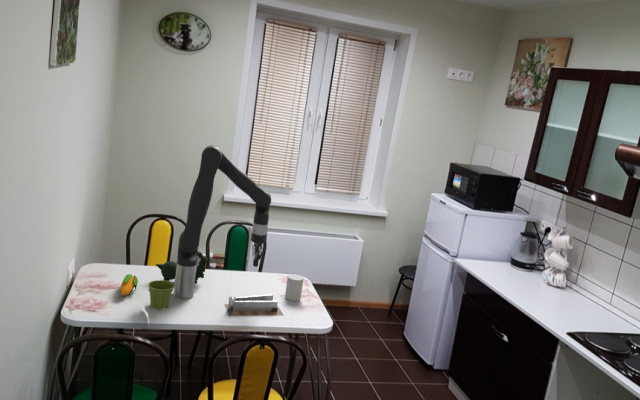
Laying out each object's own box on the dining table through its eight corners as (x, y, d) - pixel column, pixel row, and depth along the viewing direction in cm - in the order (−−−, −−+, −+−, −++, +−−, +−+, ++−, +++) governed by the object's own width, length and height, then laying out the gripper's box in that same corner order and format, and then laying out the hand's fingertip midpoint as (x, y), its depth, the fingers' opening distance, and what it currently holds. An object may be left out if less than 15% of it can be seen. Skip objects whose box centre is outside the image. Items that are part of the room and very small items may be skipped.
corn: (139, 270, 269) (133, 285, 249) (139, 285, 270) (132, 301, 251) (124, 270, 267) (116, 285, 248) (124, 285, 269) (116, 301, 250)
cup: (294, 303, 276) (297, 281, 274) (281, 298, 280) (284, 276, 278) (303, 299, 283) (306, 277, 280) (290, 294, 287) (293, 273, 285)
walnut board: (229, 317, 249) (229, 315, 248) (224, 306, 260) (224, 304, 260) (283, 317, 258) (283, 315, 258) (276, 305, 270) (276, 304, 270)
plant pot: (171, 314, 244) (174, 290, 242) (144, 312, 241) (146, 288, 239) (173, 303, 255) (175, 280, 253) (147, 302, 253) (149, 279, 251)
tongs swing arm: (234, 308, 257) (235, 298, 256) (233, 307, 258) (234, 297, 257) (272, 304, 268) (273, 295, 267) (270, 303, 269) (271, 293, 268)
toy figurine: (202, 284, 288) (154, 276, 283) (209, 250, 285) (160, 242, 280) (201, 291, 279) (151, 283, 274) (208, 256, 276) (158, 247, 271)
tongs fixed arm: (228, 312, 252) (230, 300, 251) (227, 308, 256) (228, 296, 255) (277, 311, 261) (279, 299, 260) (275, 308, 264) (276, 296, 263)
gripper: (249, 227, 267) (244, 261, 271) (255, 235, 255) (250, 270, 258) (263, 228, 270) (259, 261, 273) (270, 236, 258) (266, 271, 261)
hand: (255, 266), depth 266 cm, fingers closed
